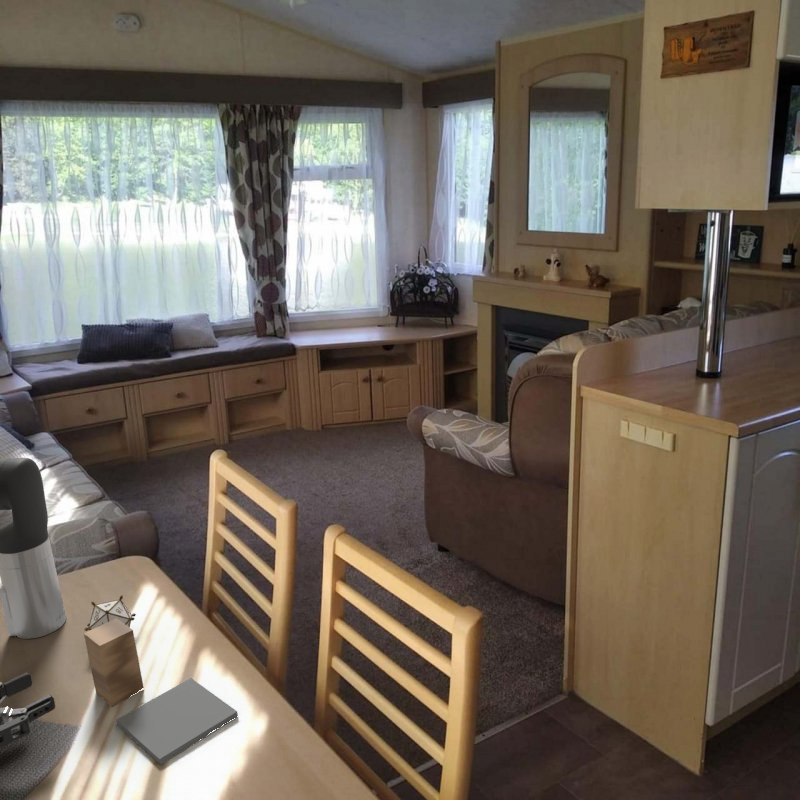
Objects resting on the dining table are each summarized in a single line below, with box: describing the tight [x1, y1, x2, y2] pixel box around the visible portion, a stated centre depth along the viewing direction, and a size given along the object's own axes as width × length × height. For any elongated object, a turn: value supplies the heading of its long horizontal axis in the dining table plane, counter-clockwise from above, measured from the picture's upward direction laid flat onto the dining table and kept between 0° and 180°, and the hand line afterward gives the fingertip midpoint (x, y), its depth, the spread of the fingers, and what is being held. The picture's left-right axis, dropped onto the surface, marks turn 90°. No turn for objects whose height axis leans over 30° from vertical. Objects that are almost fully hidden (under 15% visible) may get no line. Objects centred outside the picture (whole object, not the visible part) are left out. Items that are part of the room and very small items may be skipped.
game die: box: [83, 595, 137, 632], centre depth 142 cm, size 9×8×10 cm
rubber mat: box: [115, 677, 239, 766], centre depth 121 cm, size 13×13×1 cm
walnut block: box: [83, 618, 145, 708], centre depth 127 cm, size 6×6×11 cm
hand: (41, 689), depth 119 cm, fingers open, 8 cm apart
